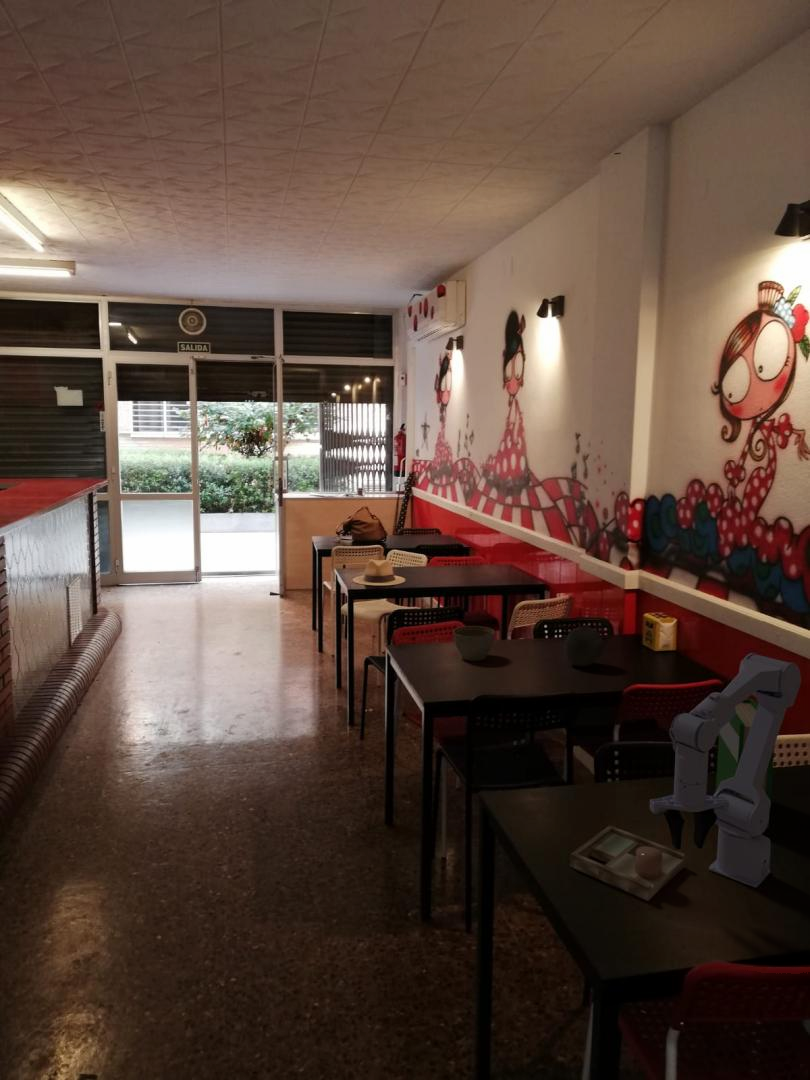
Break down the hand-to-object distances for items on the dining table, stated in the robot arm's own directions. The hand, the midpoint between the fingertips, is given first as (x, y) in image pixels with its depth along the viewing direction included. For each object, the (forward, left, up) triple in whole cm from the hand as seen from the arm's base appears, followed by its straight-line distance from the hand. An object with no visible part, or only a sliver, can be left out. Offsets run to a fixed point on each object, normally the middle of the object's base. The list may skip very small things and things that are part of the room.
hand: (687, 846), depth 147 cm
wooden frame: (+13, -2, -10) cm, 17 cm away
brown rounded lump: (+8, 0, -8) cm, 11 cm away
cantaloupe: (+92, -116, -11) cm, 148 cm away
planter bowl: (+129, -96, -11) cm, 161 cm away
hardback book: (+6, -43, -11) cm, 45 cm away
